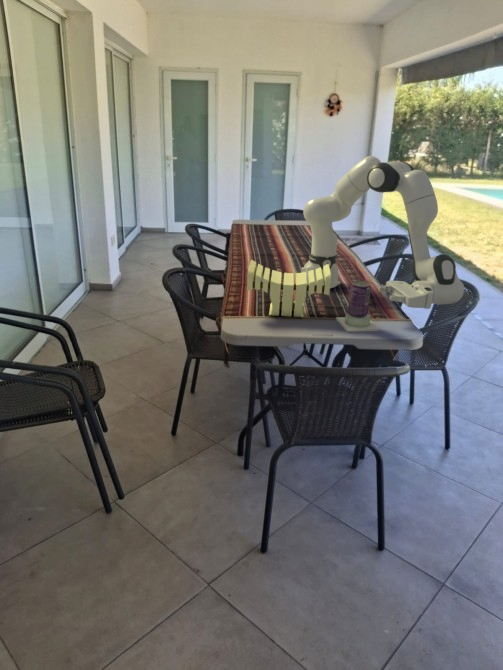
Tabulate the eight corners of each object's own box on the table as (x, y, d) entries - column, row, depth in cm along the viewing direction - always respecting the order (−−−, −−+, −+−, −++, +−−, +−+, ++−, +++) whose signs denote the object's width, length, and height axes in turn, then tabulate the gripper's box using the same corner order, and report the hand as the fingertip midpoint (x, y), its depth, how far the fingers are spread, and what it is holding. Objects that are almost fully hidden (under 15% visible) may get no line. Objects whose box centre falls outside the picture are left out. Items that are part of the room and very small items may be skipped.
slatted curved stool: (246, 316, 183) (247, 270, 176) (249, 302, 198) (251, 259, 190) (326, 321, 181) (331, 275, 174) (324, 306, 196) (328, 263, 189)
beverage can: (364, 311, 181) (368, 280, 176) (369, 318, 175) (373, 286, 170) (345, 311, 181) (349, 280, 176) (349, 318, 174) (353, 286, 170)
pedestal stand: (336, 319, 184) (337, 309, 182) (366, 318, 186) (367, 309, 184) (347, 331, 173) (348, 322, 171) (379, 330, 175) (380, 321, 173)
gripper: (408, 276, 186) (374, 276, 184) (435, 293, 168) (397, 294, 165) (405, 292, 189) (372, 292, 186) (432, 310, 170) (395, 311, 168)
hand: (384, 293), depth 176 cm, fingers open, 8 cm apart
